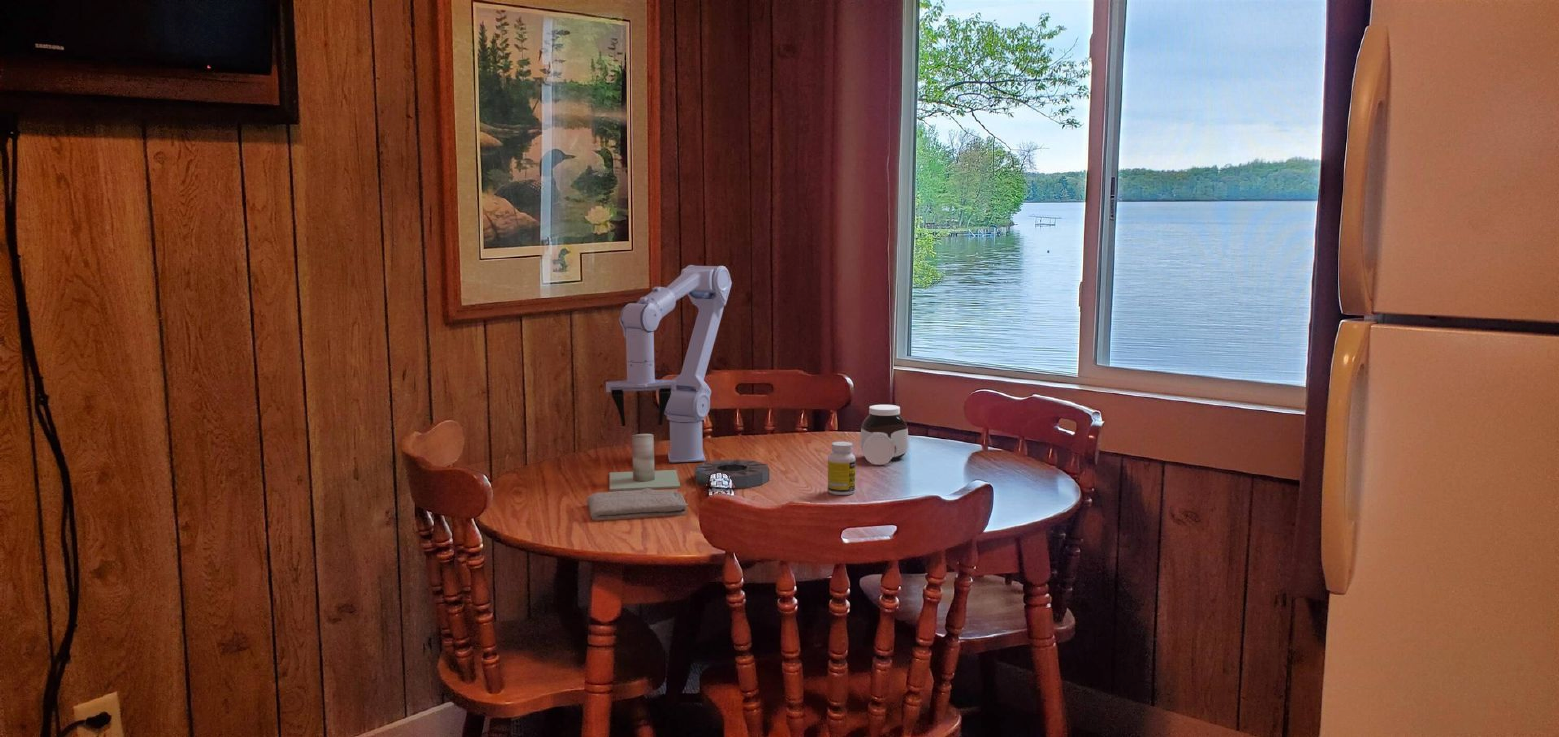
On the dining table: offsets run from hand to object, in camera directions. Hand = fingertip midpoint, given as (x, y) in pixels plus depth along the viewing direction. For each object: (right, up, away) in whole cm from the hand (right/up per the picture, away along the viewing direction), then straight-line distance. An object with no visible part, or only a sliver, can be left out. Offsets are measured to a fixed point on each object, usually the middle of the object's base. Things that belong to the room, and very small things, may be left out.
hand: (642, 424), depth 228 cm
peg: (+1, -11, -6) cm, 12 cm away
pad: (+1, -11, -5) cm, 13 cm away
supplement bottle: (+41, -13, -15) cm, 46 cm away
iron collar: (+19, -11, -5) cm, 23 cm away
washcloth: (+3, -15, -27) cm, 31 cm away
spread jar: (+52, -9, +12) cm, 54 cm away
